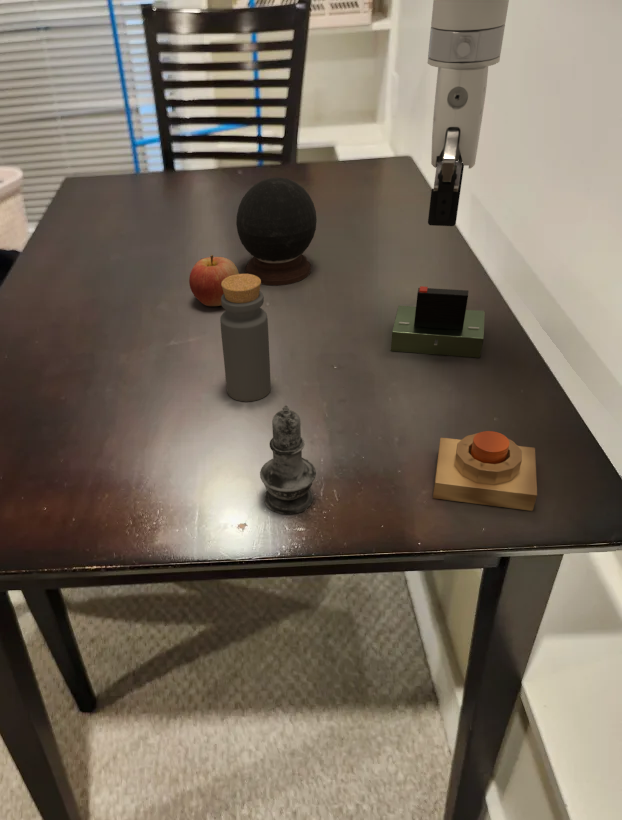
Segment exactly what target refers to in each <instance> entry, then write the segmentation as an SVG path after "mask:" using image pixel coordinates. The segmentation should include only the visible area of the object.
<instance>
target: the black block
mask: <svg viewBox="0 0 622 820" xmlns="http://www.w3.org/2000/svg"><path fill="white" fill-rule="evenodd" d="M417 288H418V289H417V295H416V302H415V303H416V304H415V307H416V311H415V321H414V327H426V328H440V329H454V330H463V325H464V319H465V313H466V310H467V306H468V300H469V290H466V289H465V290H464V289H449V288H435V287H434V288H432V287H428V286H419V287H417Z"/></svg>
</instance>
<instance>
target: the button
mask: <svg viewBox="0 0 622 820" xmlns="http://www.w3.org/2000/svg"><path fill="white" fill-rule="evenodd" d="M477 433H478V434H477ZM477 433H475V434H476V435H475V436H474V438H473V443H472V448H471V455H472V457H473V458H474V459H476V460H478V461H480V462H482V463H488V464H498V463H502V462H504V461H505V459H506V457H507V453H508V449H509V444H510V443H509V440H508V439H509V438H508V437H507V436H506V435H505V434H502V433H500V432H497V431H495V430H494V431H492V430H485V431H483V430H482V431H480V432H477Z"/></svg>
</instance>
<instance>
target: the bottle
mask: <svg viewBox="0 0 622 820" xmlns="http://www.w3.org/2000/svg"><path fill="white" fill-rule="evenodd" d="M221 285H222V289H223V292H224V294H223V295H222V297H221V303H222V306H221V307H222V308H223V309H224V311H222V313H221V315H220V316H219V317H220V319H219V321H220V322H219V323H220V334H221V344H222V354H223V355H222V357H223V363H224V364H223V365H224V375H225V385H226V392H227V394H228V396H229V397H230V398H231V399H233V400H235V401H239V402H255V401H259V400H262V399H263V398H265V397H266V396H268V395H269V393H271V387H272V386H271V385H272V384H271V359H270V337H269V320H268V314H267V312H266V311H265V310H264V309H263V308H262V306H263V305H264V302H265V300H264V292H262V291H261V285H262V284H261V280H260V278H259V277H257V276H255V275H252V274H246V273H239V274H236V275H231V276H229V277H227V278H225V279H224V280H223V281H222V283H221Z"/></svg>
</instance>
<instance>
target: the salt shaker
mask: <svg viewBox="0 0 622 820" xmlns="http://www.w3.org/2000/svg"><path fill="white" fill-rule="evenodd" d="M271 424H272V425H271V426H272V427H271V429H272V438H271V439H270V441H269V449H270V450H271V451H272V458H271V459H269V460H268V461H266V462H265V463H264V464H263V465H262V467H261V468H260V471H259V477H260V480H261V482H262V483H263V485H264V487H265V488H266V491H265V493H264V497H263V498H264V499H263V500H264V503H265V505H266V507H267V508H268V509H269V510H270V511H272V512H274V513H276V514H280V515H285V516H287V515H297V514H301V513H302V512H304V511H306V510H308V509H309V508H310V507H311V505H312V504H313V501H314V493H313V492H312V490H311V487H312V485H313V482H314V481H315V479H316V475H317V471H316V467H315V466H314V464H313V463H312V462H310V461H309V460H308V459H306V458H304V457H303V451H302V450H303V449H304V448H305V440H304V438H303V437H302V433H301V430H302V429H301V424H302V423H301V417H300V415H299V414H298V413H297V412H295V411H294V410H291V409H290V407H288V405H286V404H285V405H284V406H283V407H282V409H281V410H279V411H277V412H276V413H275V414H274V415H273V416H272V421H271Z"/></svg>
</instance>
